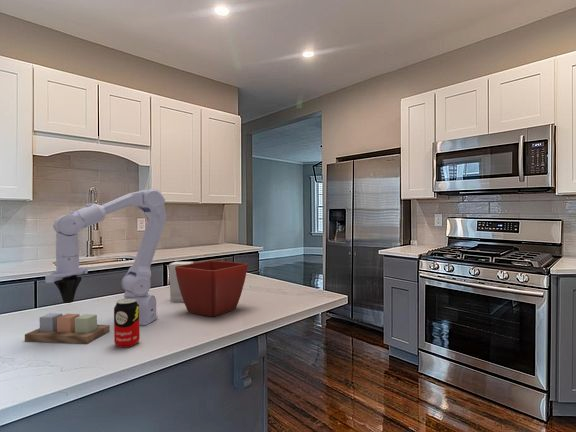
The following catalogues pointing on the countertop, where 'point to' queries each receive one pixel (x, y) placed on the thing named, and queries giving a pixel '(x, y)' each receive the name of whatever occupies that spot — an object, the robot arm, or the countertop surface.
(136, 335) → the beverage can
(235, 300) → the plant pot
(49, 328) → the slate block
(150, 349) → the countertop surface
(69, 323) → the terracotta block
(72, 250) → the robot arm
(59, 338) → the board
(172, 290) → the skincare box
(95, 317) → the sage block
